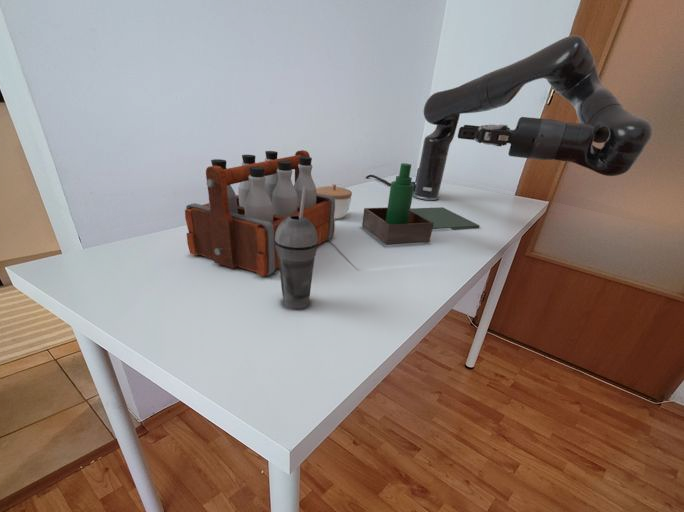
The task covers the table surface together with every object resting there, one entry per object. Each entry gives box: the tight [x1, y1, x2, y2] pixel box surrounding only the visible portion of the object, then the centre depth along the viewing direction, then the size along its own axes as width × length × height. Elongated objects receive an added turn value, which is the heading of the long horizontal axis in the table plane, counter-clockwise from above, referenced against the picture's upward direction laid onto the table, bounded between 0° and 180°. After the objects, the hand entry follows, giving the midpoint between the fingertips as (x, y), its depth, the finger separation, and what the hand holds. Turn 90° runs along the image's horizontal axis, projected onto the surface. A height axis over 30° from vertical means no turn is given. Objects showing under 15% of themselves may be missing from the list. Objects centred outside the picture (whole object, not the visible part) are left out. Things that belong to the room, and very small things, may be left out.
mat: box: [410, 206, 480, 230], centre depth 117 cm, size 20×18×1 cm
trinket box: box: [316, 184, 353, 220], centre depth 108 cm, size 11×11×9 cm
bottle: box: [385, 162, 415, 225], centre depth 96 cm, size 6×6×18 cm
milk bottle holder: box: [184, 150, 336, 277], centre depth 83 cm, size 21×35×19 cm, turn 152°
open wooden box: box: [361, 206, 434, 246], centre depth 100 cm, size 15×13×6 cm
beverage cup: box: [274, 187, 319, 310], centre depth 61 cm, size 7×7×20 cm
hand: (460, 131), depth 83 cm, fingers open, 8 cm apart
